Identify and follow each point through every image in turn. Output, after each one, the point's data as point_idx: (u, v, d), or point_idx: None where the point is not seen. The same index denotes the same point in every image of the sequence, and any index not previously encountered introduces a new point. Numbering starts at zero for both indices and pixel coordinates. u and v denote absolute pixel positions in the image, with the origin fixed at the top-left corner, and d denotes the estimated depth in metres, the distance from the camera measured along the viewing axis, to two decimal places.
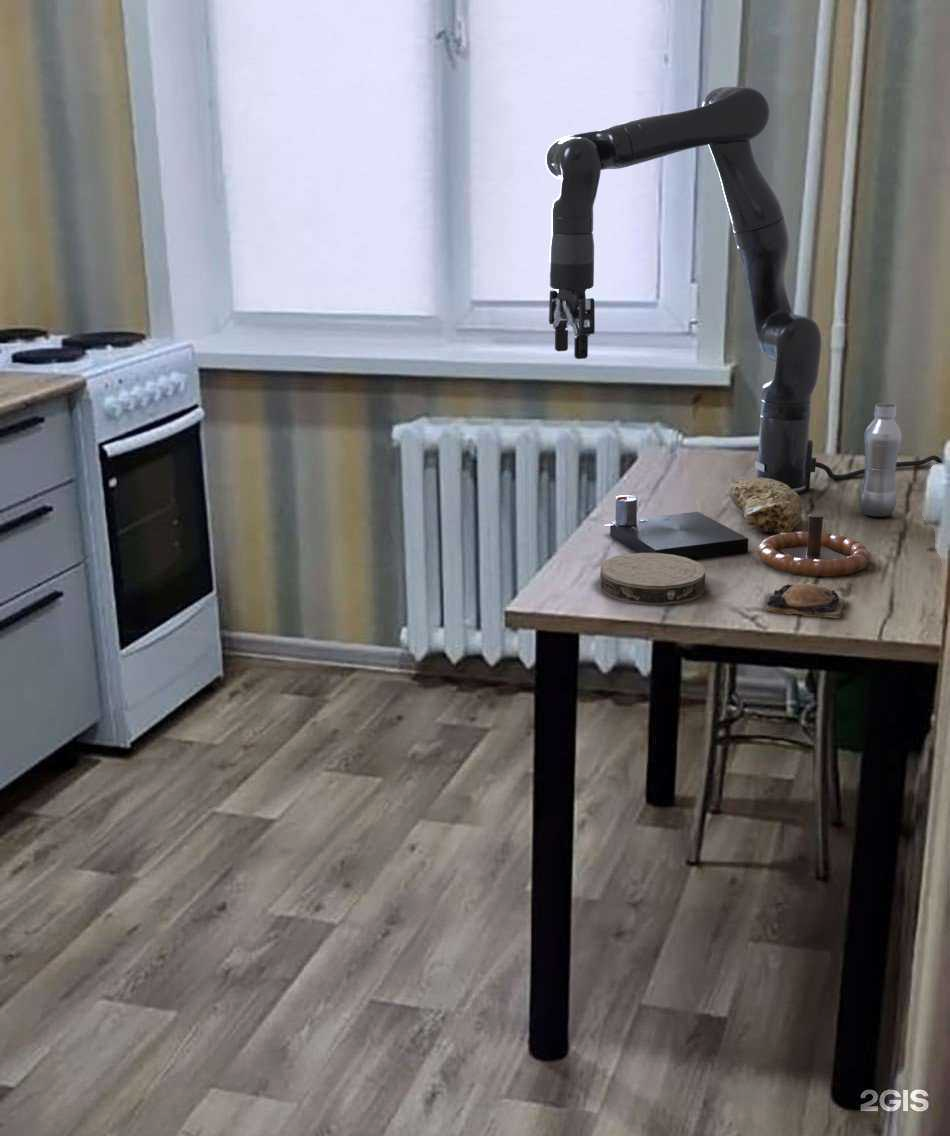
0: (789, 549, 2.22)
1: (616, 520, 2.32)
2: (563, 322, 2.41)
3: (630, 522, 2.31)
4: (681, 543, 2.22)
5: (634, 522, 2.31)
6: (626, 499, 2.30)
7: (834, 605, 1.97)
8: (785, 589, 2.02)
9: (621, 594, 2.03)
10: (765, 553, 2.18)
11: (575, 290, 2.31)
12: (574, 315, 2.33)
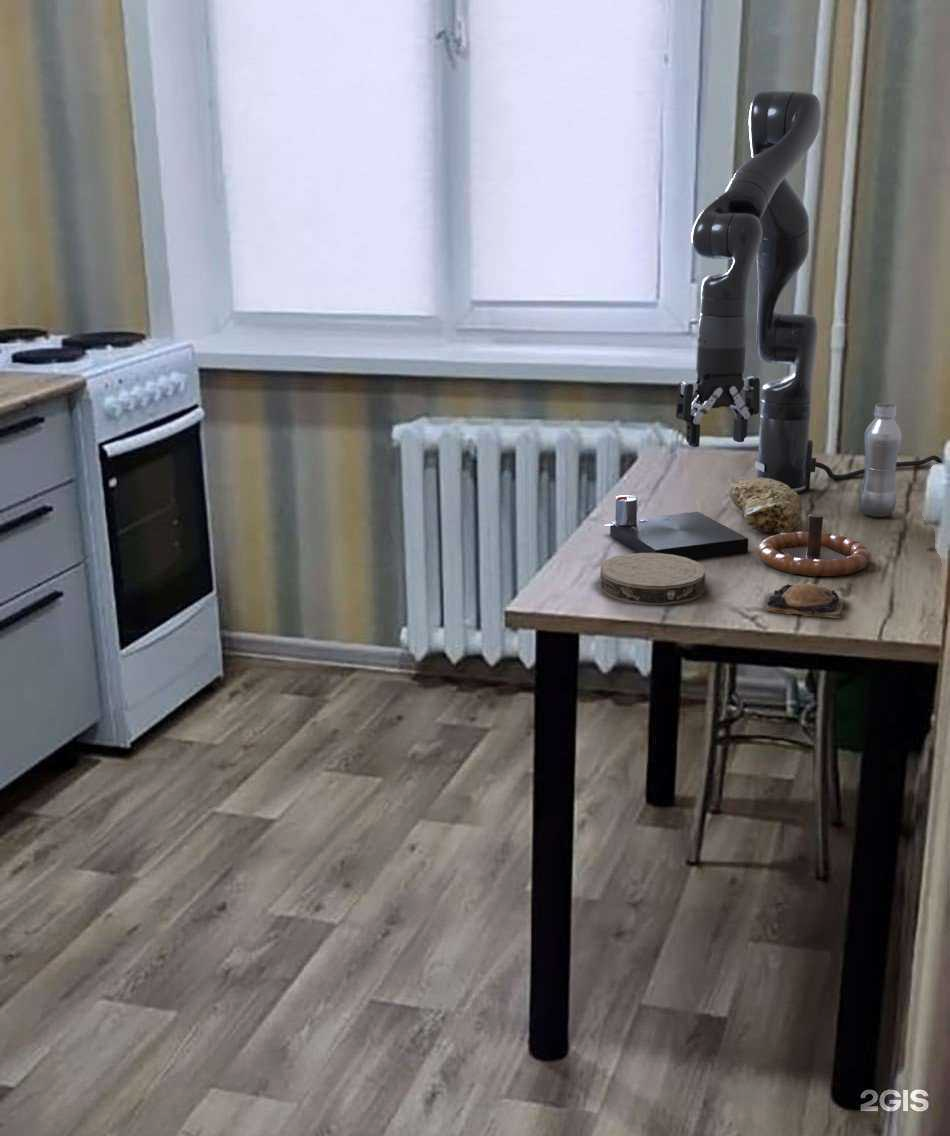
0: (789, 549, 2.22)
1: (616, 520, 2.32)
2: None
3: (630, 522, 2.31)
4: (681, 543, 2.22)
5: (634, 522, 2.31)
6: (626, 499, 2.30)
7: (834, 605, 1.97)
8: (785, 589, 2.02)
9: (621, 594, 2.03)
10: (765, 553, 2.18)
11: (697, 373, 2.16)
12: (702, 400, 2.17)
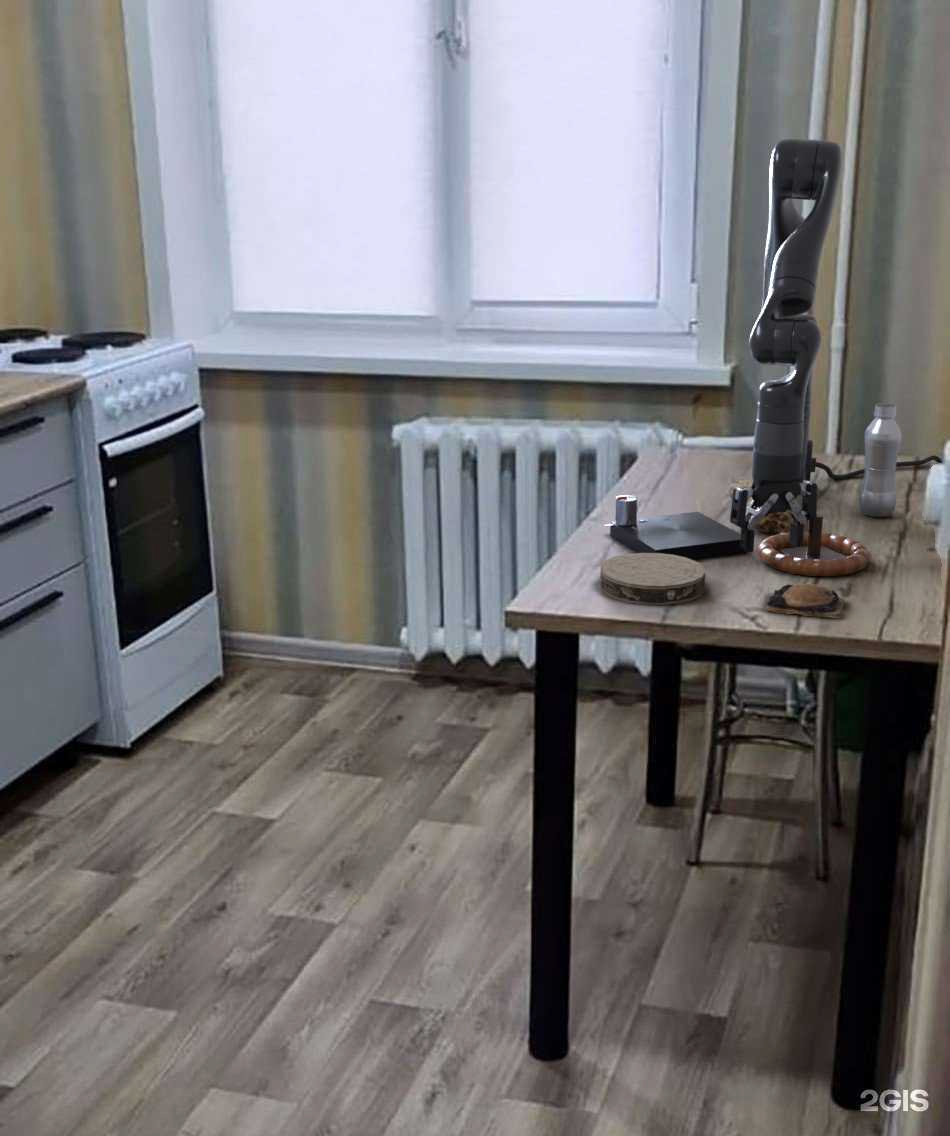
0: (789, 549, 2.22)
1: (616, 520, 2.32)
2: None
3: (630, 522, 2.31)
4: (681, 543, 2.22)
5: (634, 522, 2.31)
6: (626, 499, 2.30)
7: (834, 605, 1.97)
8: (785, 589, 2.02)
9: (621, 594, 2.03)
10: (765, 553, 2.18)
11: (753, 478, 2.13)
12: (757, 505, 2.14)
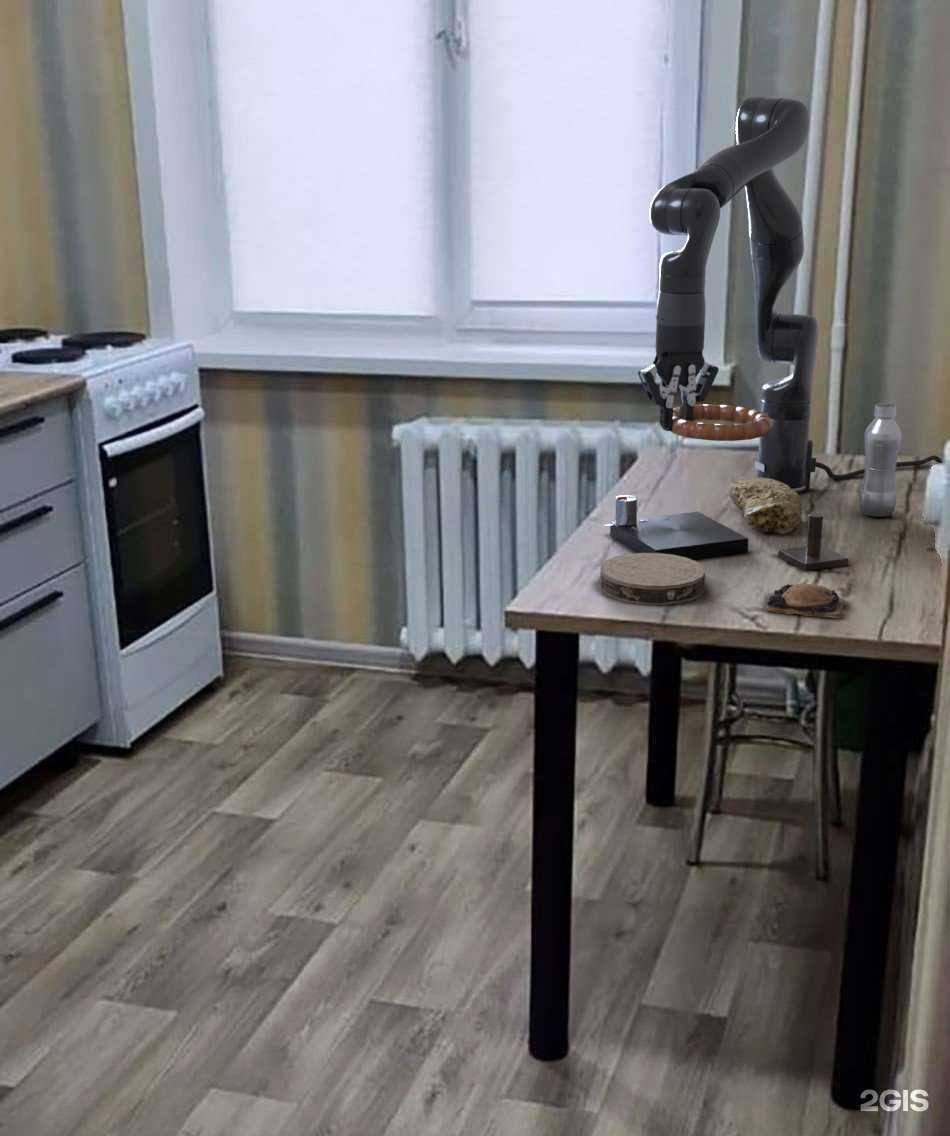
0: (789, 549, 2.22)
1: (616, 520, 2.32)
2: None
3: (630, 522, 2.31)
4: (681, 543, 2.22)
5: (634, 522, 2.31)
6: (626, 499, 2.30)
7: (834, 605, 1.97)
8: (785, 589, 2.02)
9: (621, 594, 2.03)
10: None
11: (656, 351, 2.14)
12: (661, 378, 2.15)
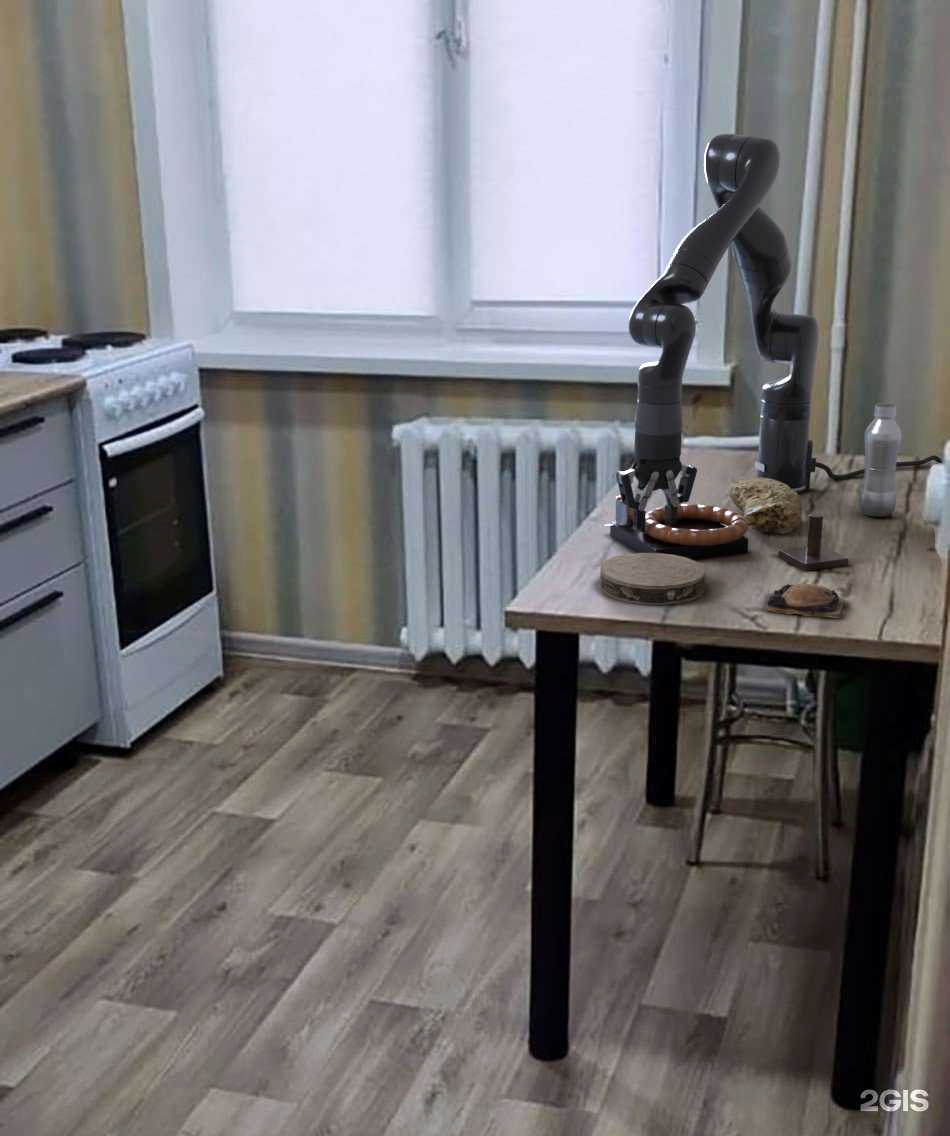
0: (789, 549, 2.22)
1: (616, 520, 2.32)
2: None
3: (630, 522, 2.31)
4: None
5: None
6: None
7: (834, 605, 1.97)
8: (785, 589, 2.02)
9: (621, 594, 2.03)
10: (646, 524, 2.25)
11: None
12: (639, 483, 2.22)
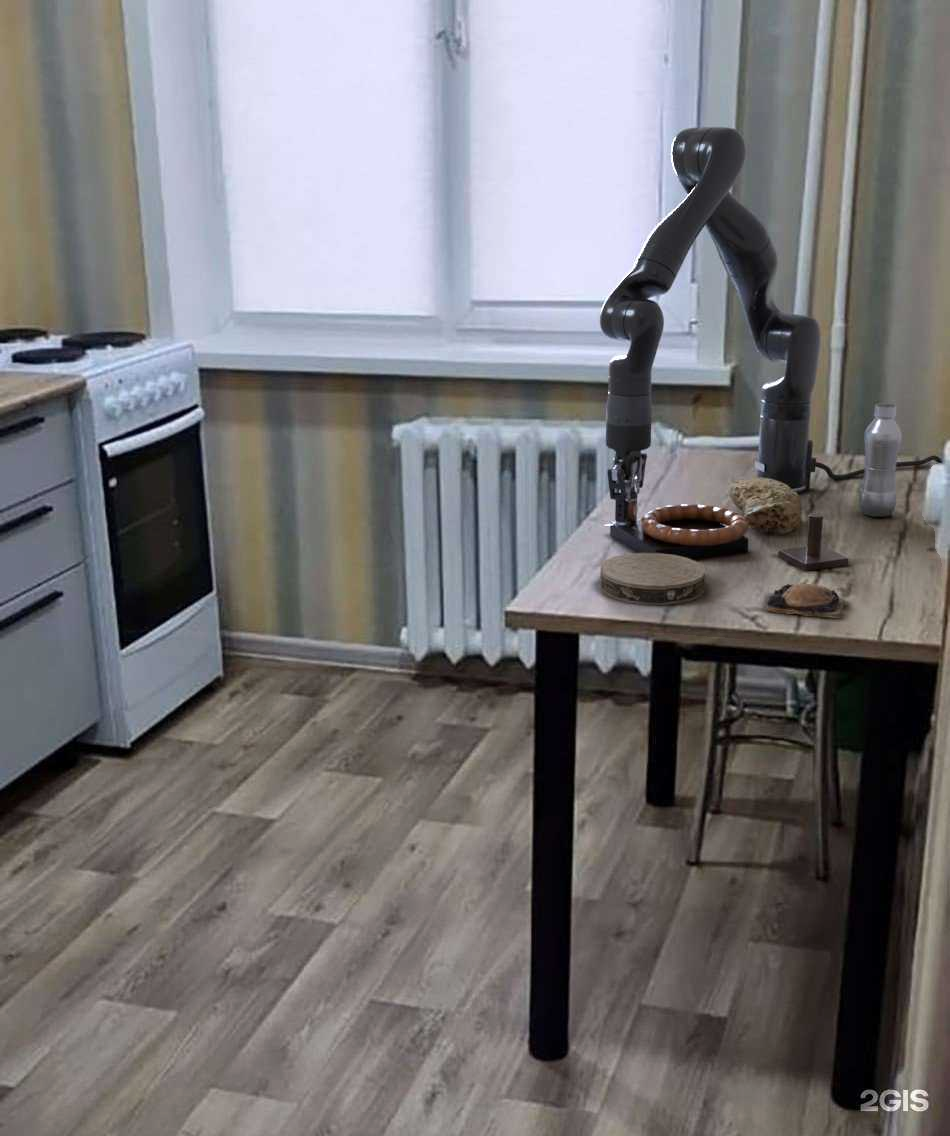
0: (789, 549, 2.22)
1: None
2: (634, 486, 2.33)
3: (630, 522, 2.31)
4: None
5: (634, 522, 2.31)
6: None
7: (834, 605, 1.97)
8: (785, 589, 2.02)
9: (621, 594, 2.03)
10: (646, 524, 2.25)
11: (615, 451, 2.26)
12: None
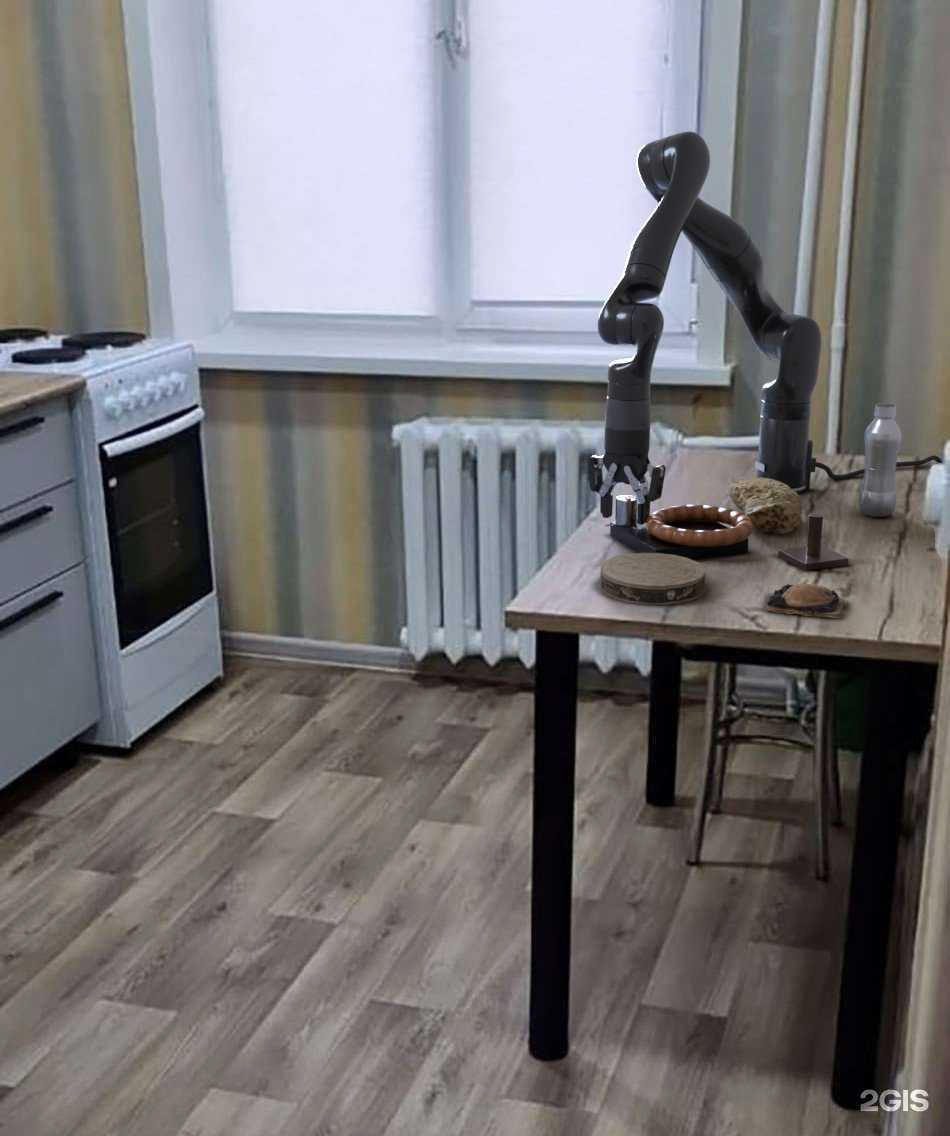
0: (789, 549, 2.22)
1: (628, 522, 2.31)
2: None
3: None
4: None
5: None
6: (632, 498, 2.31)
7: (834, 605, 1.97)
8: (785, 589, 2.02)
9: (621, 594, 2.03)
10: (652, 525, 2.24)
11: (643, 455, 2.26)
12: (638, 479, 2.28)
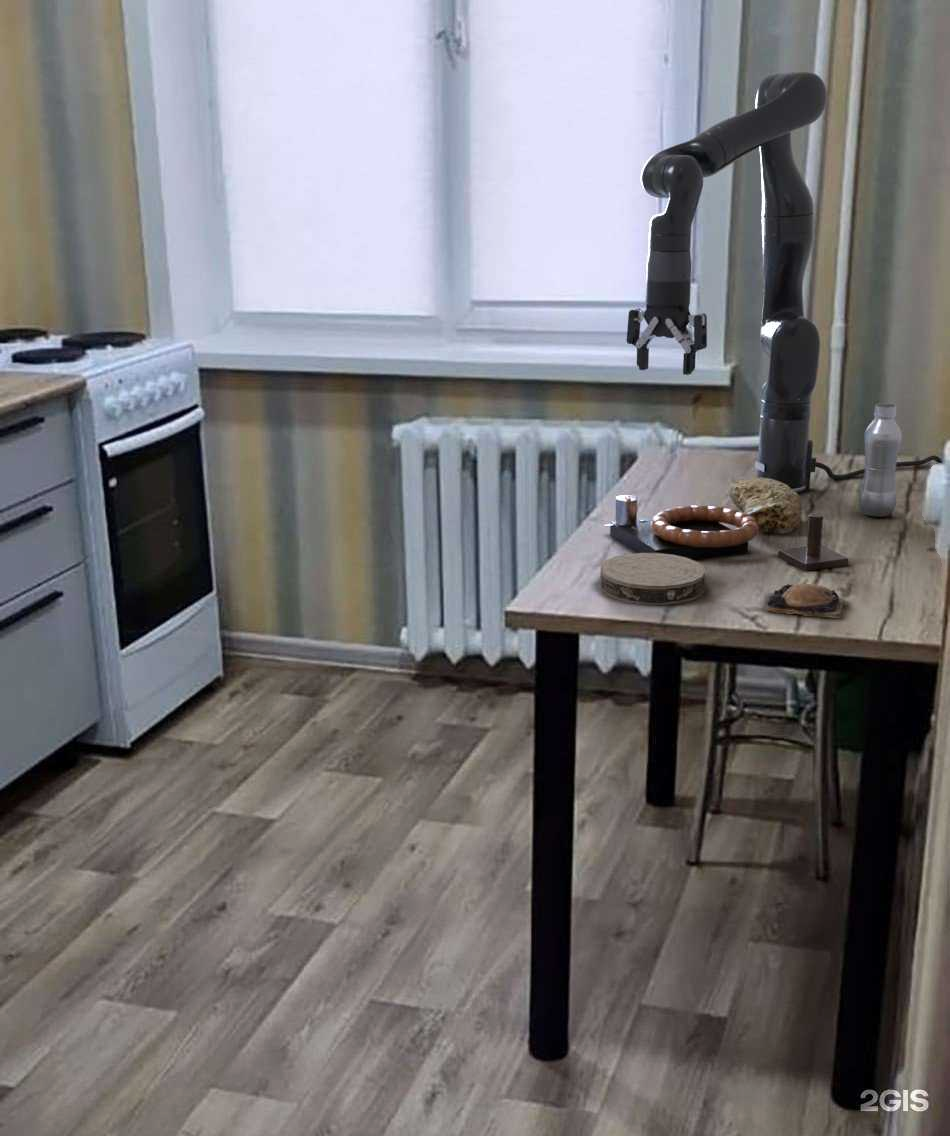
0: (789, 549, 2.22)
1: (628, 522, 2.31)
2: None
3: None
4: None
5: None
6: (632, 498, 2.31)
7: (834, 605, 1.97)
8: (785, 589, 2.02)
9: (621, 594, 2.03)
10: (657, 526, 2.24)
11: (684, 307, 2.31)
12: None
